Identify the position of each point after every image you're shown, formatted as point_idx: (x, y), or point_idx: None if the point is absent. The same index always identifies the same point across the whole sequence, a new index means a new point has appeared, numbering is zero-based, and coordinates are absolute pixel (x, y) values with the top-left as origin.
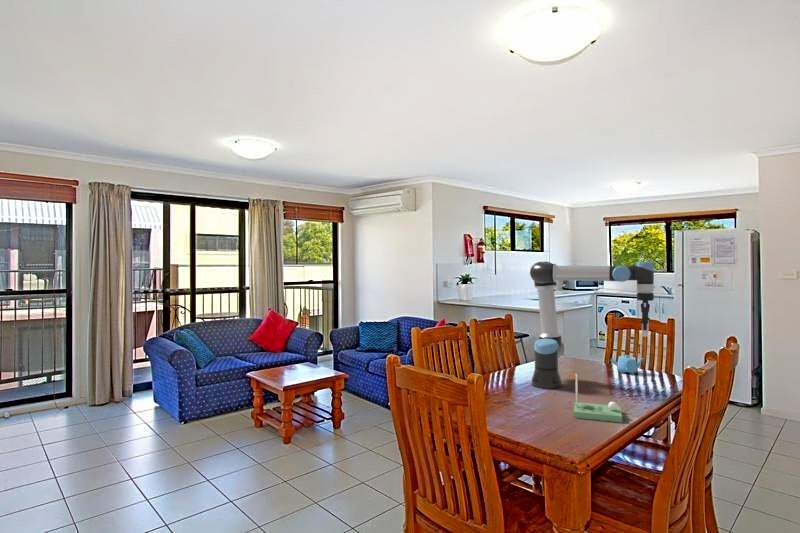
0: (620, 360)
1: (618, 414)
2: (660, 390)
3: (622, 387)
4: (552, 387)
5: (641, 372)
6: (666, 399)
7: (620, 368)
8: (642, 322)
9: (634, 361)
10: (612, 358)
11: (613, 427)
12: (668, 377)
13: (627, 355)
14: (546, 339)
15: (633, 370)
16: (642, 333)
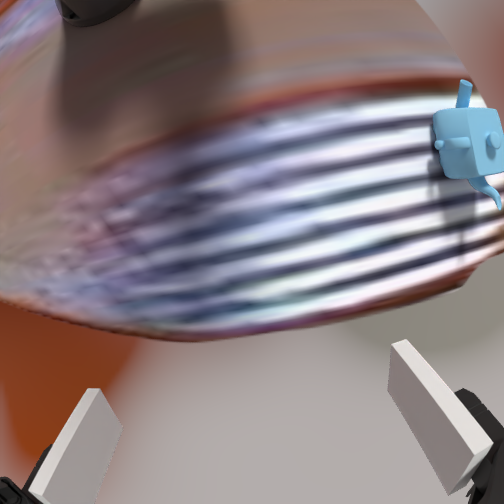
0: (460, 116)
1: None
2: (255, 295)
3: (213, 170)
4: (67, 21)
5: None
6: (150, 328)
7: (439, 120)
8: (10, 496)
9: (471, 172)
10: (471, 86)
11: None
12: (449, 275)
13: (495, 142)
14: None
15: (446, 167)
16: (78, 413)
